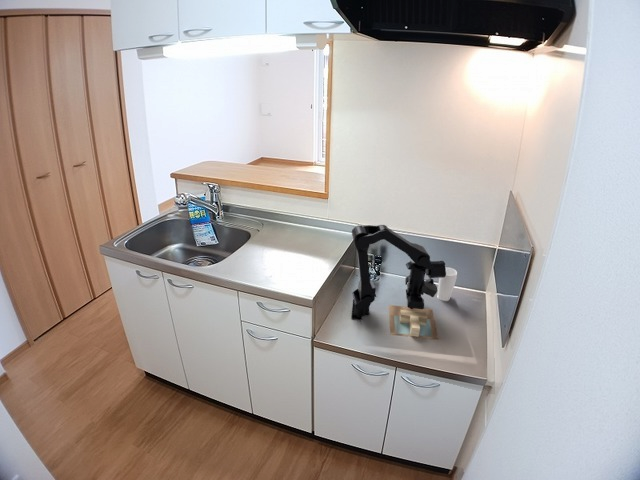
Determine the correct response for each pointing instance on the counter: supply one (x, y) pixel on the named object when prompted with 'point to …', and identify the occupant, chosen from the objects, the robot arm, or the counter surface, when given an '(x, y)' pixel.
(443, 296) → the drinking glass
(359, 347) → the counter surface
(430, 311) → the push board
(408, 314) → the t block
